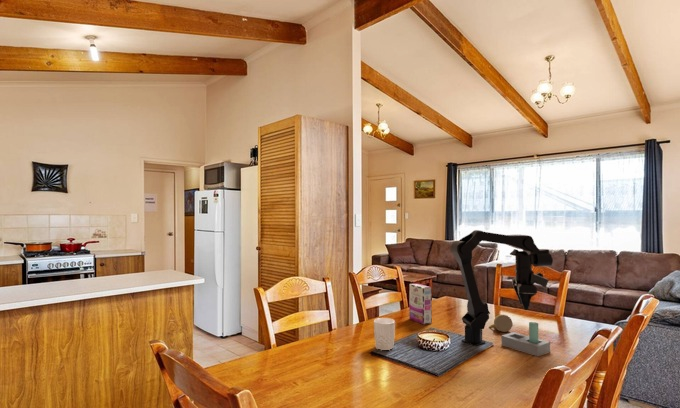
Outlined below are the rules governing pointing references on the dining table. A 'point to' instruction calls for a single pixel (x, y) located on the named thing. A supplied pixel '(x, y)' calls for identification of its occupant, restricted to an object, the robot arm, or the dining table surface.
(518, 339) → the block
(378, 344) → the white cup
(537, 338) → the peg
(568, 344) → the dining table surface
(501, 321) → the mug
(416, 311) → the candy bar box
